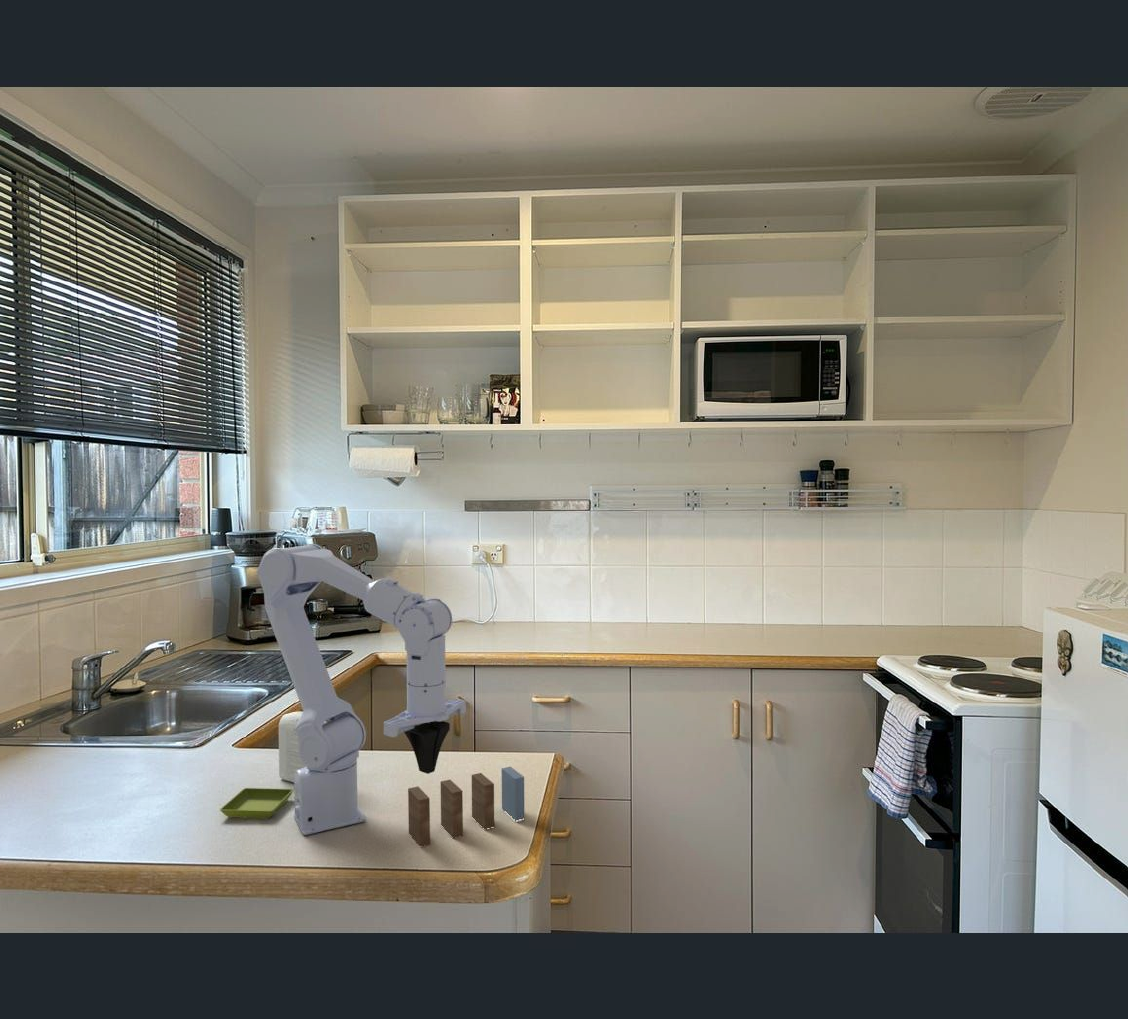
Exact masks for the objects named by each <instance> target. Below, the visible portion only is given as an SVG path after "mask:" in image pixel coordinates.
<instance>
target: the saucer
mask: <svg viewBox="0 0 1128 1019" xmlns="http://www.w3.org/2000/svg"><path fill="white" fill-rule="evenodd" d="M293 792H294V788H293V789H291V788H269V787H268V788H265V787H263V788H261V787H259V788H257V787H244V788H242V789H241V790H240V791H239V792H238V793H237V794H236V795H235V796H233V797H232V799H231V800H229V801H228V802H227V803H226V804H224V805H223V806H222V807H220V808H219V811H220V812H221V813H222V814H223V815H224V816H226V817H228V818H229V817H239V818H238V819H263V818H268V819H271V817H272V816H273V815H274V814H275V813H277V811H278V810H279V809H280V808H281V807H282V806H283V805H284V804H285V803H286V802H287V801H288V800H289V798H290V797H291V796H292V794H293ZM240 817H241V818H240ZM244 817H246V818H244Z"/></svg>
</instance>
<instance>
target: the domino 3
mask: <svg viewBox="0 0 1128 1019" xmlns="http://www.w3.org/2000/svg"><path fill="white" fill-rule="evenodd" d="M472 817H473V818H474V819H475V820H476V821H477V822H478V823H479V824H480V825H481V826H482V827H481V826H480V825H479V826H480V827H481V828H482V829H483V828H484V829H487V828H491V827H494V828H495V783H494V782H493V781H491V780H490V779H489V778H488V777H486V775H484V774H483V773H481V772H479V773H474V774H471V818H472ZM484 829H483V830H484Z"/></svg>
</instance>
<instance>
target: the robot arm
mask: <svg viewBox="0 0 1128 1019" xmlns="http://www.w3.org/2000/svg"><path fill="white" fill-rule="evenodd" d="M256 576H257V577H258V580H259V583H260V585H261V588H262V591H263V596H264V597H263V598H264V608H265V611H266V615H267V617H268V620H269V622H270V625H271V628H272V631H273V634H274V637H275V639H276V642H277V644H278V647H279V650H280V652H281V655H282V657H283V661H284V662H285V666H286V669H287V670H288V673H289V676H290V679H291V682H292V684H293V687H294V690H295V694H296V695H297V698H298V701H299V704H300V707H301V709H302V712H303V713H302V716H301V718H300V720H299V721H298V723H297V726H296V728H295V730H296V733H297V736H298V742H299V743H298V750H299V755H300V758H301V760H302V761H303V763H304V764H305V765H306V766H307V767H305V768H302V769H298V770H296V771H295V775H294V782H293V786H294V788H293V792H294V793H293V794H294V814H293V817H294V818H295V821H296V823H297V825H298V827H299V829H300V831H301V833H302V834H303V835H304V836H306V835H311V834H316V833H319V832H324V831H329V830H334V829H337V828H342V827H346V826H350V825H355V824H358V823H359V824H360V823H363V822H366V817H365V815H364V814H363V813H362V811H361V810H360V808H359V807H358V763H357V762H358V758H359V755H360V750H361V749H362V748H363V746H364V745H365V742H366V739H367V731H366V730H367V729H366V727H365V725H364V723H363V721H362V720H361V719H360V718H359V716H357V714H356V713H355V711H354V708H353V706H352V704H351V703H350V702H348V701H346V700H343V699H341V698H340V697H338V695H337V693H336V690H335V687H334V685H333V682H332V679H331V677H330V674H329V672H328V669H327V667H326V664H325V660H324V659H323V656H322V652H321V651H320V648H319V645H318V643H317V640H316V637H315V635H314V631H313V630H312V626H311V624H310V622H309V618H308V616H307V614H306V613H307V612H306V611H305V607H304V606H305V605H306V603H307V600H308V598H309V596H310V595H311V594H312V593H313V592H314V590H316V588H317V587H318V586H319V585H320V584H321V582H323V583H325V584H327V585H329V586H332V587H334V588H336V589H337V590H340V591H342V592H344V593H347V594H349V595H351V596H352V597H355V598H357V599H359V600H361V601H362V603H363V607H364V610H365V611H366V612H367V613H369V614H370V615H372V616H374V617H376V618H378V619H380V620H381V621H384V622H385V623H388V624H389V625H391V626H392V627H394V628H396V629H397V630H398V632H399V634H400V636H401V638H402V639H403V641H404V651H406V710H404V711H402V712H400V713H399V714H398V715H396V716H394V717H392V718H390V719H388V720H385V721H383V735H384V736H387V737H390V738H395V737H398V734H402V733H404V734H405V736H406V738H407V739H408V741H409V743H410V745H411V747H412V749H413V752H414V756H415V759H416V762H417V766H418V771H419V772H422V773H425V774H427V775H430V774H432V773H434V772H435V770H436V767H437V762H438V758H439V755H440V751H441V748H442V745H443V743H444V741H445V738H446V737H447V735H448V733H449V732H450V730H451V729H450V728H451V727H450V726H451V724H450V722H448V721H446V720H449V719H450V718H449V717H451V716H455V715H457V714H459V715H463V714H466V713H467V711H466V710H467V708H466V705H467V703H466V700H463V699H460V698H454V699H451V700H450V699H449V700H446V696H447V695H446V690H447V689H446V680H447V679H446V635H445V634H448V632H449V630H450V629H451V627H452V626H453V625H452V624H453V615H452V611H451V609H450V608H449V606H448V605H447V604H446V603H444V602H443V601H442V600H441V599H440V598H435V597H433V598H429V599H425V598H424V595H423V594H422V593H419V592H415V593H414V592H412V591H411V590H408V589H407V588H405V587H402V586H401V585H400V584H399V580H397V579H396V578H394V577H389V578H379V579H377V580H374V579H372V578H370V577H369V576H367V575H366V574H364V573H362V572H361V571H359V570H357V569H356V568H354V567H352V566H351V565H350V564H348V563H346V562H344V561H343V560H341V559H340V558H338V557H337V556H335V555H334V554H333V552H332V550H330V549H326V548H323V547H322V546H321V545H319V544H315V543H310V544H309V543H308V544H307V545H306V544H305V545H302V546H301V545H300V546H293V547H292V546H291V547H285V548H277V547H275V548H271V549H269V550H267V551H266V552H265V553H264V554H263V556H262V558H261V560H260V563H259V565H258V567H257V570H256ZM324 721H326V722H327V721H328V722H327V723H326V724H324V725H323V723H324Z"/></svg>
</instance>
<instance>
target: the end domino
mask: <svg viewBox="0 0 1128 1019" xmlns="http://www.w3.org/2000/svg"><path fill="white" fill-rule="evenodd" d="M502 809H503V811H506V812H507V813H508V814H509V815H510V816H512V818H513V819H515V821H516V820H519V819H523V818H525V816H526V815H525V776H524V775H523V774H521V773H520V772H519V771H518V770H516V769H515V768H513V767H512V766H507V767H502V768H501V810H502ZM503 811H502V812H503Z"/></svg>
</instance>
